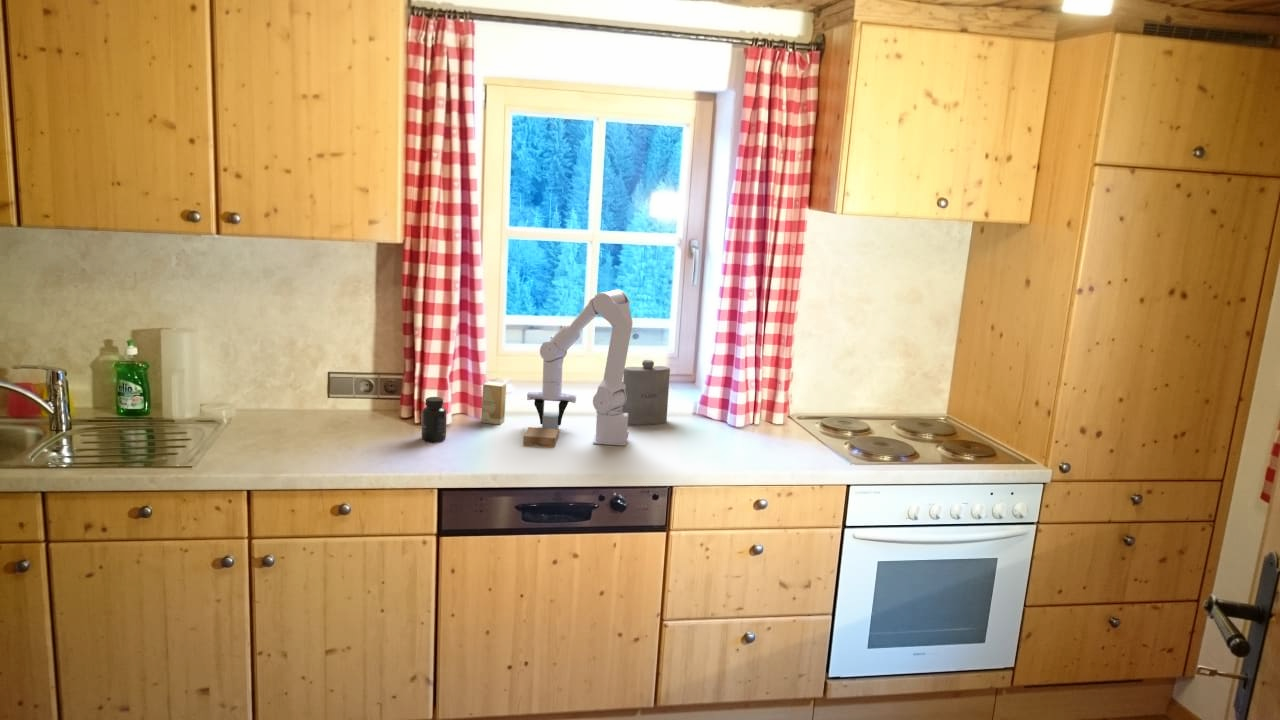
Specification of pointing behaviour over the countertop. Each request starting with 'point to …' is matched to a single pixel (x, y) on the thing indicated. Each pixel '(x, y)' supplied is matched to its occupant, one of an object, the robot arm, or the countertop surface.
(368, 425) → the countertop surface
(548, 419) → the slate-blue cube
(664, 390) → the flask
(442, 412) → the supplement bottle
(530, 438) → the walnut block
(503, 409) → the skincare box
